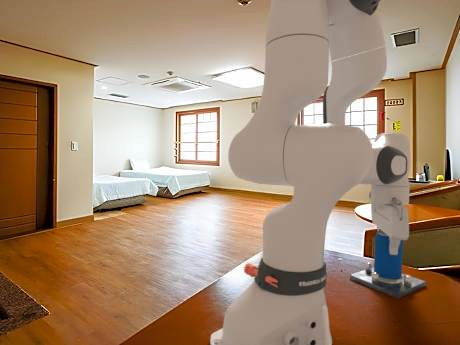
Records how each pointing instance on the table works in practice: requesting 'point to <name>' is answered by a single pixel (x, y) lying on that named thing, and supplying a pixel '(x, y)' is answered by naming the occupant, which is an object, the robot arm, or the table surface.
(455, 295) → the table surface
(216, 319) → the table surface
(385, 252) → the beverage can
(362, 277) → the plate
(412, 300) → the table surface
